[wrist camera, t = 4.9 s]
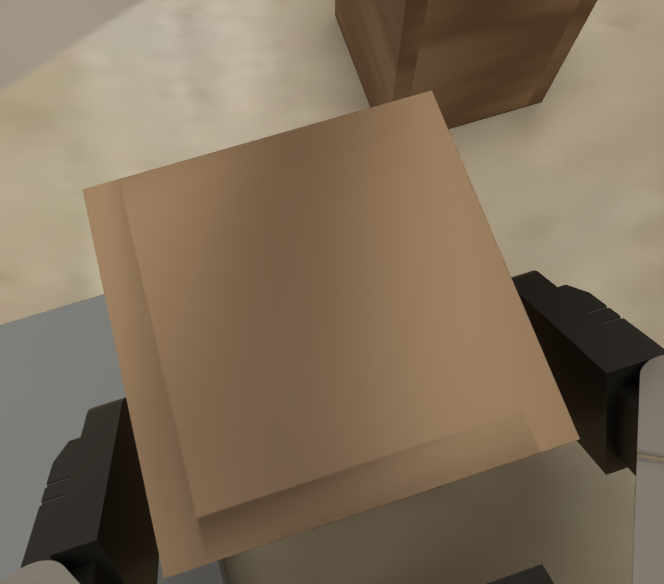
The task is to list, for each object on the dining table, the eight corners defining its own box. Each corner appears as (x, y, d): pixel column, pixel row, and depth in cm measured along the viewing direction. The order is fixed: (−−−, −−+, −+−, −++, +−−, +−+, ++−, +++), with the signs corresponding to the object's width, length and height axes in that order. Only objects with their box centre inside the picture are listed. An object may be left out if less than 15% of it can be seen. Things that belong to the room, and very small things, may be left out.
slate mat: (157, 285, 19) (151, 279, 19) (233, 603, 17) (229, 607, 16) (-145, 376, 19) (-161, 373, 18) (-119, 722, 16) (-136, 732, 15)
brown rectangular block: (387, 275, 19) (431, 90, 10) (451, 453, 18) (580, 439, 8) (213, 328, 19) (83, 189, 9) (262, 515, 17) (164, 578, 8)
